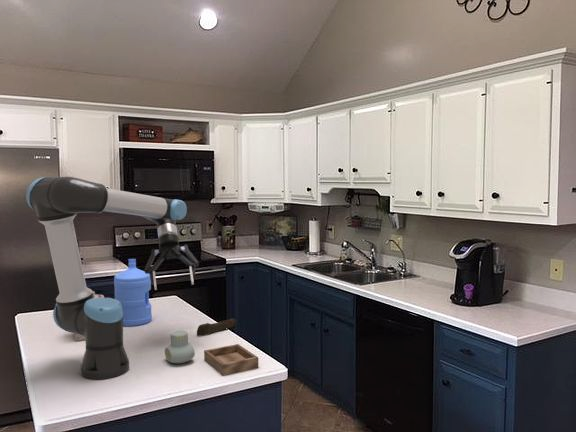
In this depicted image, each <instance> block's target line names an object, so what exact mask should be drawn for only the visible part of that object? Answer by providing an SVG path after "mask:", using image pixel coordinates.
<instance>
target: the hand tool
mask: <svg viewBox="0 0 576 432" xmlns="http://www.w3.org/2000/svg"><path fill="white" fill-rule="evenodd" d="M236 327H237V320H236V319H235V318H233V317H231V318H229V319H225V320H221V321H218V322H214V323H208V322H207V323H202V324H199V325H198V327H197V330H196V337H202V336H203V337H204V336H208V335H211V334H212V333H214V332H218V331H222V330H225V329H230V328H236Z"/></svg>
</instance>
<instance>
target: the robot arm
mask: <svg viewBox="0 0 576 432" xmlns="http://www.w3.org/2000/svg"><path fill="white" fill-rule="evenodd" d="M25 195H26V202H27V204H28V206H29V208H31V209H32V210H33V211H35V212H36V216H37V221H38V222H39V223H40V224H42V225H44V228H45V233H46V237H47V241H48V246H49V250H50V252H49V253H50V255H51V260H52V264H53V269H54V274H55V278H56V282H57V287H58V292H59V293H58V295H57V296H56V298H55V301H56V303H55V307H54V308H53V312H52V317H53V320H54V323H55V324H56V326H57V327H59V328H60V329H61V330H64V331H65V332H68V333H72V334H74V333H76V334H80V335H83V336H85V340H84V341H85V351H84V353H83V358H82V362H81V364H80V375H81V376H82V377H83V378H85V379H90V380H105V379H110V378H114V377H118V376H122V374H125V373H127V372H128V371H129V370H130V360H129V357H128V354H127V352H126V349H125V347H124V346H125V345H124V326H123V311H122V305H121V303H120V302H119V301H118V300H116V299H115V298H111V297H105V296H104V297H99V298H94V297H93V292H92V291H93V290H92V289H91V288H89V287H87V282H86V278H85V273H84V268H83V263H82V258H81V253H80V249H79V244H78V240H77V239H78V238H77V234H76V230H75V225H74V219H75V217H76V216H77V214H81V213H89V214H90V213H91V214H101V213H103V212H108V213H117V214H125V215H133V216H140V217H142V218H145V220H146V219H147V220H149V221H150V222H151V221H152V222H153V223H155V224H156V230H157V237H158V244H159V245H158V247H159V249H155V248H152V249H151V250H150V251H151V254H150V256H149V258H148V260H147V262H146V264H145V267H144V269H143V271H144V272H145V273H146V274H147V273H148V274H150V280H151V283H152V282H153V286H154V290H155V291H157V290H158V288H157V279H156V271H157V270H158V268H159V267H160V266H161V264H162V263H163V262H164V261H165V260H167V261H169V260H175V259H178V260H180V261H181V262H183V264H185V265H186V266H187V267H189V275H190V276H189V277H190V282H191V283H190V284H191V286H192V285H193V286H194V285H195V282H194V276H196V267H197V268H198V267H199V265H200V262H199V261H198V259H197V258H196V257H195V256H194V254H193V253H192V252H191V251H190V250H189V246H188V244H184V246H180V243H179V242H180V241H179V237H178V236H179V234H178V227H177V223H176V221H180V220H182V219H184V218H185V216H186V215H187V211H188V210H187V209H188V208H187V207H188V206H187V205H186V202H185V201H183V200H181V199H176V198H174V199H171V198H164V197H158V196H153V195H148V194H142V193H136V192H131V191H125V190H119V189H114V188H108V187H107V186H106V185H105V184H104V183H97V182H94V181H89V180H87V179H86V180H85V179H82V178H77V177H74V176H52V175H49V176H43V177H39V178H37V179H34V181H33V182H31V184H30V185H29V187H28V188H27V191H26V194H25ZM181 251H182V252H183V253H185V254H186V256H187V257H188V258H187V257H186V256H185V255H183V254H182V253H181ZM158 254H159V257H158V258H157V260H156V261H155V262H154V260H155V258H156V256H157V255H158Z"/></svg>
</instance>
